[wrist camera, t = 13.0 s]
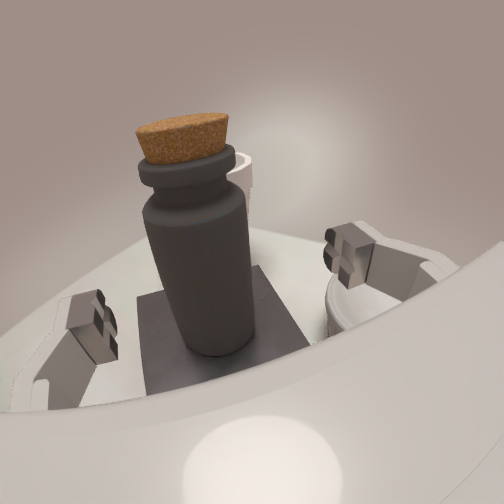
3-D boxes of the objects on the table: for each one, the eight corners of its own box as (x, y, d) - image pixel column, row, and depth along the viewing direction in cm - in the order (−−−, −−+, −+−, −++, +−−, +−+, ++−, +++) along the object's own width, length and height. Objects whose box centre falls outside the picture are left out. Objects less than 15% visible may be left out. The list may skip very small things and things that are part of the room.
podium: (168, 433, 17) (150, 414, 15) (149, 325, 26) (136, 296, 24) (314, 387, 20) (320, 361, 18) (259, 294, 29) (258, 264, 27)
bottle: (240, 292, 24) (221, 108, 15) (267, 342, 19) (258, 116, 11) (174, 311, 22) (126, 126, 14) (190, 367, 18) (119, 141, 9)
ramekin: (437, 318, 24) (455, 281, 21) (408, 405, 17) (436, 373, 14) (349, 282, 30) (356, 243, 27) (296, 351, 23) (300, 311, 20)
